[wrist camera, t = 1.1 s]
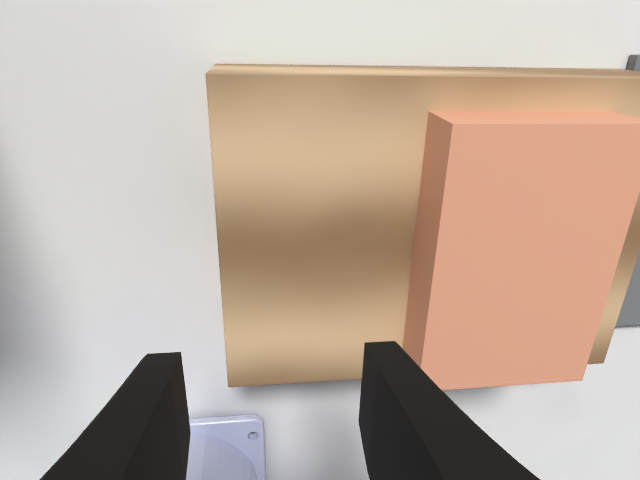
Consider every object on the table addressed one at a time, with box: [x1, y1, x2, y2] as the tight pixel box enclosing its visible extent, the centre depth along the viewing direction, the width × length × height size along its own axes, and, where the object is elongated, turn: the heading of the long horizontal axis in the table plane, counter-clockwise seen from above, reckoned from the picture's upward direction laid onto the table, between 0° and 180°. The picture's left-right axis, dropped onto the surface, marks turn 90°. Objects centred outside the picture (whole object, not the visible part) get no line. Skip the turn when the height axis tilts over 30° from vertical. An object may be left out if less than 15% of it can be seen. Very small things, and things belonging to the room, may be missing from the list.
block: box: [403, 111, 640, 390], centre depth 16 cm, size 9×6×2 cm, turn 179°
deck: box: [206, 64, 640, 387], centre depth 18 cm, size 11×15×4 cm
